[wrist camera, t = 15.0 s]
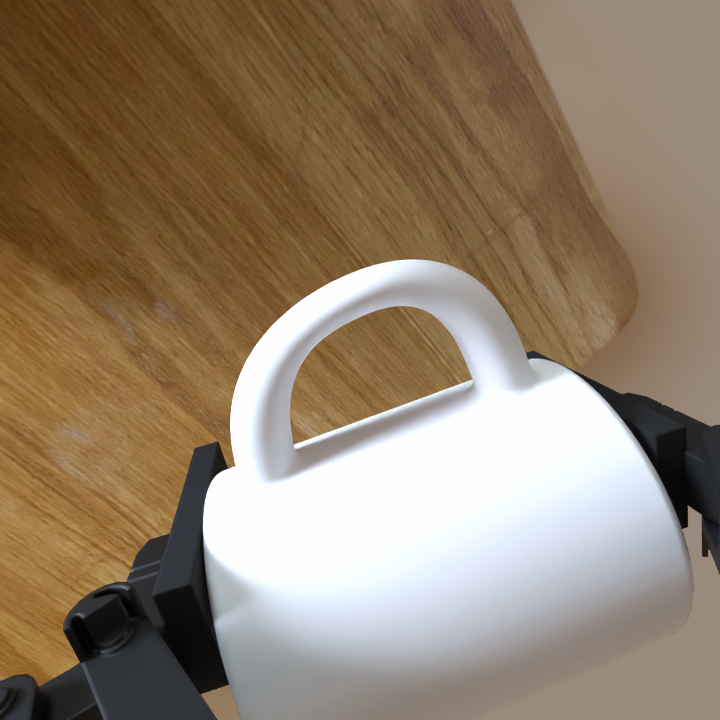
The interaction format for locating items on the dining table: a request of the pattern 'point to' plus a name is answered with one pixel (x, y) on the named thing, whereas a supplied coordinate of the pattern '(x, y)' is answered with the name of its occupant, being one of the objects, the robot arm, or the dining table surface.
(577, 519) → the mug
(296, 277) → the dining table surface
